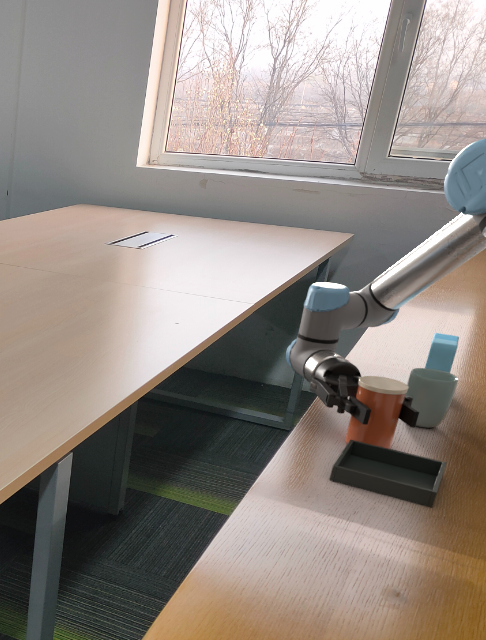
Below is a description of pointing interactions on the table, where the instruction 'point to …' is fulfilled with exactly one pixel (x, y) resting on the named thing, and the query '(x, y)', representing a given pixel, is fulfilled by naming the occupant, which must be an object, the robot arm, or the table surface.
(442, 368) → the blue upright block
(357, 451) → the tray
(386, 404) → the orange lidded canister
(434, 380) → the cup
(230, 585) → the table surface
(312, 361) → the robot arm
